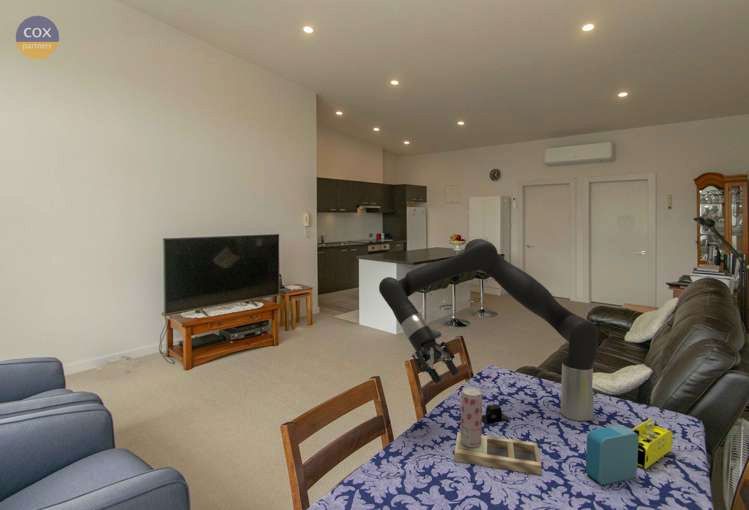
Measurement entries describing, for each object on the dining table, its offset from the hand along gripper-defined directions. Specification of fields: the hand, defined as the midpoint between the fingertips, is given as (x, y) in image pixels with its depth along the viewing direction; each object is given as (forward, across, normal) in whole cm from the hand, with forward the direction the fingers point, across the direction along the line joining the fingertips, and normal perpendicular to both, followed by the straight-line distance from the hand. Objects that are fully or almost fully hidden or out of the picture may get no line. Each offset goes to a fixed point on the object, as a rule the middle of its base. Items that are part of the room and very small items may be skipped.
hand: (447, 378), depth 116 cm
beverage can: (+18, 0, +6) cm, 19 cm away
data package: (+41, +17, -14) cm, 47 cm away
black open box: (+16, +23, +12) cm, 30 cm away
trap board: (+24, +4, +4) cm, 24 cm away
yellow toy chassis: (+44, +34, -17) cm, 58 cm away
